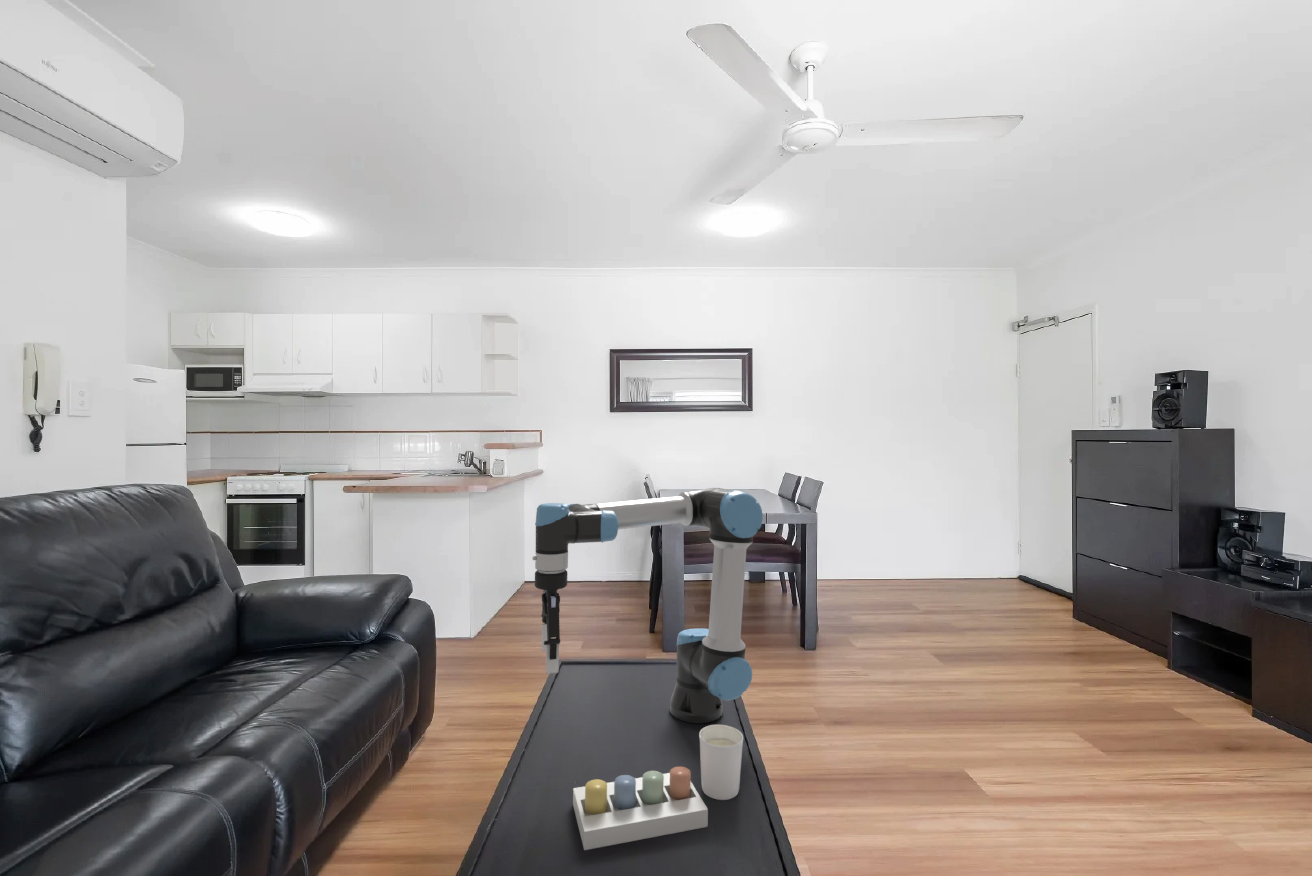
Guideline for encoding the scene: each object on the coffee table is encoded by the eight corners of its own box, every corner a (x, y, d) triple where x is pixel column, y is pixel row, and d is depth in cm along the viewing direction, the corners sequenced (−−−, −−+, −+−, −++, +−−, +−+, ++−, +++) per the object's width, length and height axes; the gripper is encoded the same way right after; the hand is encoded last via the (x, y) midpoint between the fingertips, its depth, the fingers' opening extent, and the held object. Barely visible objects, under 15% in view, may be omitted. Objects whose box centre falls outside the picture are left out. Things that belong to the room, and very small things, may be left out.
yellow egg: (604, 799, 118) (604, 777, 118) (608, 813, 114) (609, 790, 114) (583, 803, 116) (583, 781, 117) (586, 816, 112) (587, 793, 112)
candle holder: (731, 808, 120) (732, 751, 121) (690, 792, 126) (691, 737, 126) (749, 785, 129) (750, 731, 129) (710, 771, 134) (711, 720, 134)
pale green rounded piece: (659, 790, 121) (660, 769, 121) (666, 803, 117) (666, 781, 117) (639, 793, 120) (640, 772, 120) (645, 806, 116) (645, 784, 116)
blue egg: (632, 794, 120) (632, 773, 120) (637, 807, 115) (638, 785, 115) (611, 798, 118) (612, 776, 118) (616, 811, 114) (617, 789, 114)
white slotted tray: (684, 786, 128) (684, 770, 128) (707, 826, 115) (707, 809, 115) (572, 804, 121) (573, 788, 121) (584, 850, 107) (584, 831, 107)
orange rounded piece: (686, 786, 123) (686, 765, 123) (693, 798, 119) (693, 776, 119) (666, 789, 122) (667, 768, 122) (673, 801, 118) (673, 779, 118)
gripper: (532, 559, 144) (530, 643, 144) (538, 583, 120) (536, 684, 120) (562, 558, 146) (560, 641, 146) (573, 581, 122) (572, 681, 122)
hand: (549, 661), depth 133 cm, fingers open, 13 cm apart
